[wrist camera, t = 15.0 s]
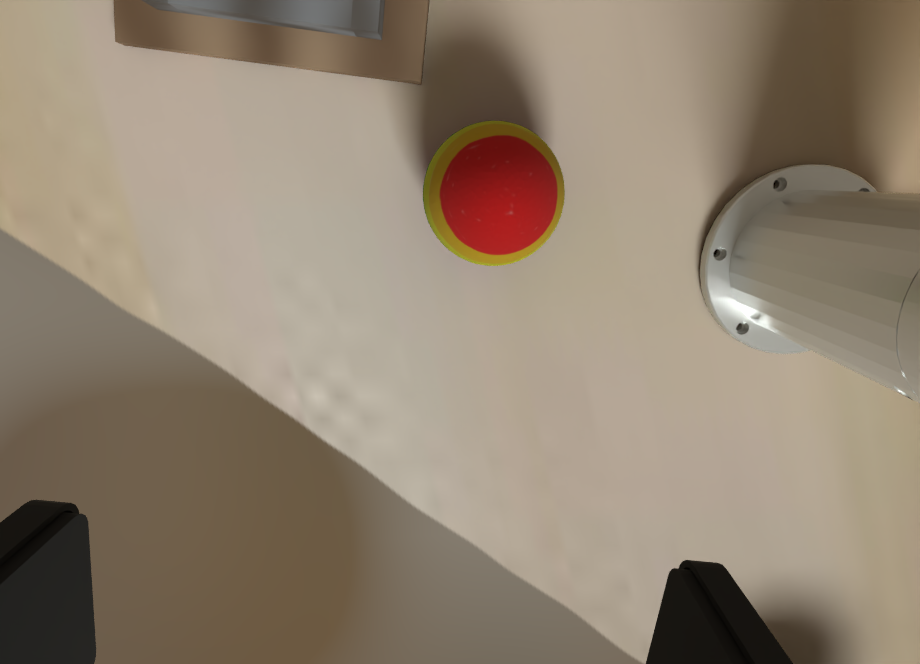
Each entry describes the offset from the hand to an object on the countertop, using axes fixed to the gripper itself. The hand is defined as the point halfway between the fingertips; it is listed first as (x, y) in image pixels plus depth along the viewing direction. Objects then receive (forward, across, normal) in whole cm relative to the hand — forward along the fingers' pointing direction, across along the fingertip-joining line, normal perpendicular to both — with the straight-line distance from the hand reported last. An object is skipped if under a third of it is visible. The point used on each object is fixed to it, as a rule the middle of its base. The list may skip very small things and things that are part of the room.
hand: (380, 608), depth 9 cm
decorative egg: (+31, -3, -6) cm, 31 cm away
